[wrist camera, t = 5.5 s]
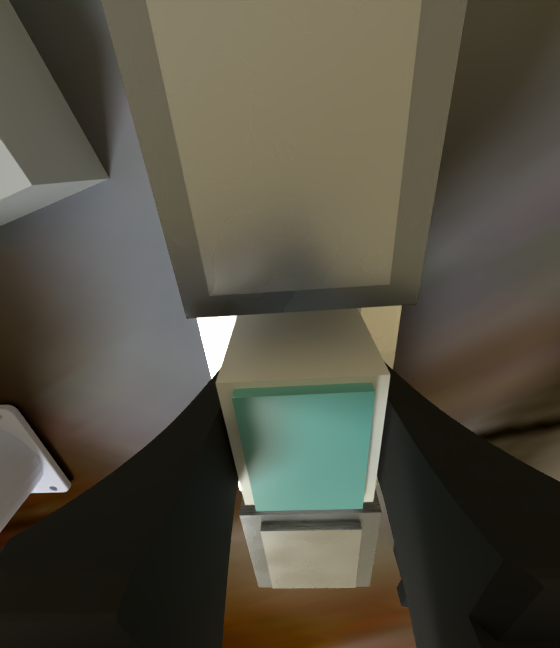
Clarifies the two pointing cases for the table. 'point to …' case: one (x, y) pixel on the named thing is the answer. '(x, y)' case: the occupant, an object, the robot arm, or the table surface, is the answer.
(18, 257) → the table surface
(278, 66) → the rail panel
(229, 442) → the robot arm
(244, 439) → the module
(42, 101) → the block
